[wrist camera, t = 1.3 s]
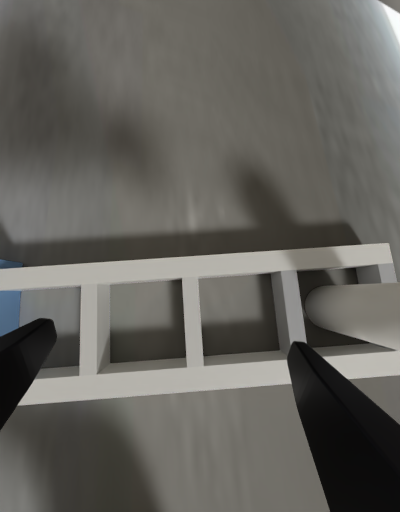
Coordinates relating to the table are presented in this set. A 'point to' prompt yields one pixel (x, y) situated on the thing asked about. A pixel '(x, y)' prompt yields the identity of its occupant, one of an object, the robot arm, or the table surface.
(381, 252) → the white and blue ladder
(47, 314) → the table surface
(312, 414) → the robot arm
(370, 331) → the white capped cylinder
